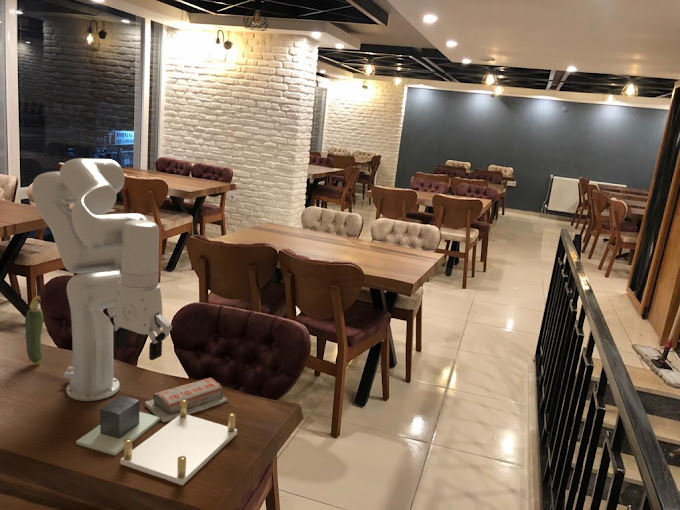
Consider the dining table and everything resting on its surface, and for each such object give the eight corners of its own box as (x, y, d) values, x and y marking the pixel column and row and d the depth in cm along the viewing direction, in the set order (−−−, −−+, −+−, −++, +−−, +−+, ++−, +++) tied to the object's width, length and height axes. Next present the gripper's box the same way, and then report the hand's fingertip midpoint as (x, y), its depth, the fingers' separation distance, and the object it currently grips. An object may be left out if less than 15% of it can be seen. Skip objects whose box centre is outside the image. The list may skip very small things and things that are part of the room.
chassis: (120, 464, 115) (120, 441, 114) (182, 417, 135) (182, 398, 133) (182, 485, 110) (183, 462, 109) (237, 434, 130) (238, 414, 129)
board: (76, 445, 120) (75, 416, 119) (124, 412, 135) (124, 385, 134) (115, 457, 118) (114, 427, 116) (160, 421, 133) (160, 394, 131)
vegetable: (23, 365, 153) (20, 296, 148) (34, 359, 157) (31, 292, 152) (37, 367, 152) (35, 298, 148) (48, 361, 156) (46, 294, 152)
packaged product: (208, 372, 150) (228, 386, 143) (207, 388, 151) (227, 403, 144) (144, 389, 137) (163, 406, 130) (144, 407, 138) (163, 424, 132)
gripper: (95, 273, 118) (95, 347, 122) (159, 291, 112) (156, 368, 116) (122, 266, 125) (121, 337, 129) (183, 283, 119) (180, 356, 123)
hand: (138, 352), depth 123 cm, fingers open, 9 cm apart
